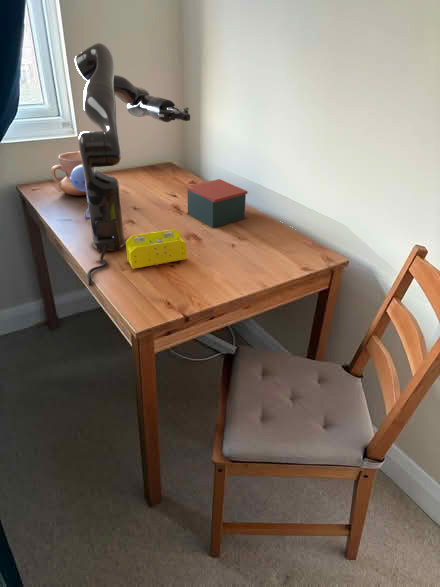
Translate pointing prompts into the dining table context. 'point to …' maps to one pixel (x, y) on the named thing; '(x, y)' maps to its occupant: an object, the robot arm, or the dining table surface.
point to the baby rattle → (79, 181)
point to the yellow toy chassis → (155, 248)
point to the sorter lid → (217, 190)
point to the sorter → (216, 209)
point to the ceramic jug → (68, 172)
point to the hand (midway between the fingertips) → (188, 117)
